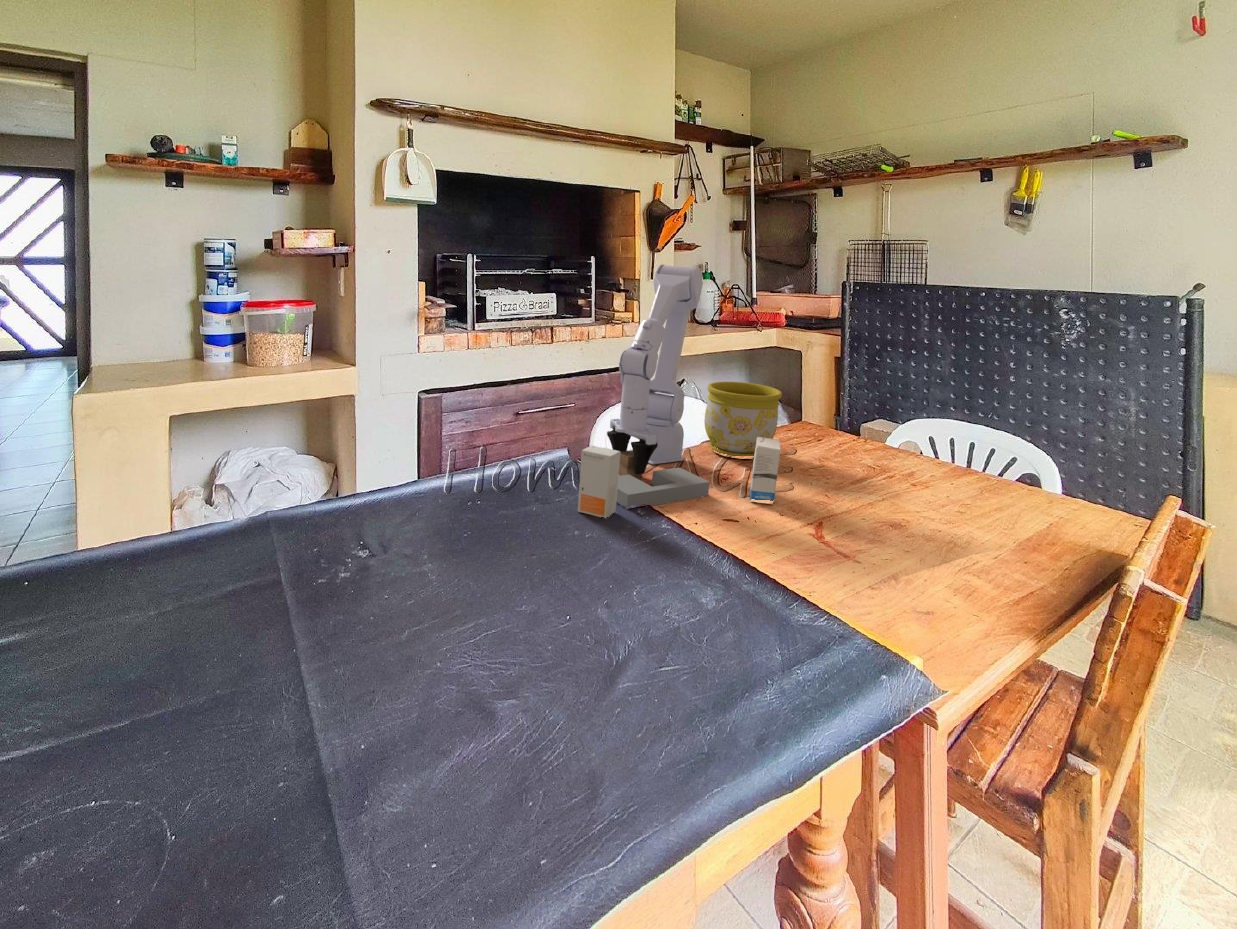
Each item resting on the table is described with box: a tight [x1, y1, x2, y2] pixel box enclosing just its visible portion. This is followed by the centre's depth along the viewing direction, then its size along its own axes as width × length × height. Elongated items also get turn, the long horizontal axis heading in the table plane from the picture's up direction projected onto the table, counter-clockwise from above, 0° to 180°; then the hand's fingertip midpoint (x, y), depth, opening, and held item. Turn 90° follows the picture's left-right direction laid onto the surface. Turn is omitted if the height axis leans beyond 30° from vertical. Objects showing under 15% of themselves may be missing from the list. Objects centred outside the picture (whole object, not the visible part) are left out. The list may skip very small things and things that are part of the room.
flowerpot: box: [703, 381, 783, 456], centre depth 170 cm, size 18×18×16 cm
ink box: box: [749, 437, 782, 501], centre depth 139 cm, size 9×5×12 cm, turn 168°
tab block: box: [619, 449, 643, 479], centre depth 148 cm, size 4×4×5 cm
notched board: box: [616, 467, 711, 507], centre depth 138 cm, size 20×10×3 cm, turn 123°
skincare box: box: [577, 445, 621, 519], centre depth 124 cm, size 6×4×12 cm
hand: (629, 468), depth 148 cm, fingers open, 7 cm apart
